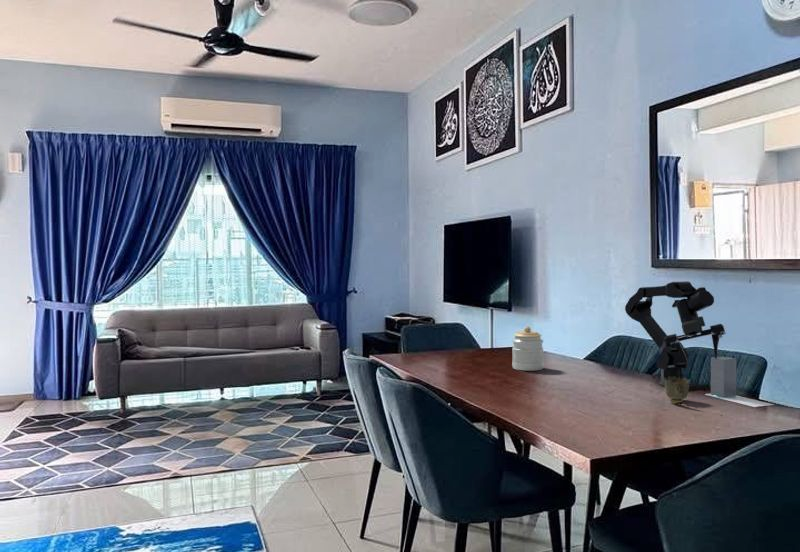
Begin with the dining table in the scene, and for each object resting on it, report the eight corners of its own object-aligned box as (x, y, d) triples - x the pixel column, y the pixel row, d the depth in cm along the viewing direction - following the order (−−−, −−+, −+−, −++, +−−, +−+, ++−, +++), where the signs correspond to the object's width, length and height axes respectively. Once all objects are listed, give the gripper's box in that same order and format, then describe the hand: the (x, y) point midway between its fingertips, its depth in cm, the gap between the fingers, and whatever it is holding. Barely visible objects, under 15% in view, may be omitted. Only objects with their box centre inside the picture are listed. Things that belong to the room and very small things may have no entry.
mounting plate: (704, 397, 202) (704, 394, 202) (723, 395, 205) (723, 392, 205) (754, 410, 184) (754, 406, 184) (774, 407, 187) (774, 404, 187)
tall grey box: (710, 394, 201) (710, 357, 201) (723, 392, 203) (723, 356, 203) (723, 397, 196) (723, 359, 196) (736, 396, 198) (736, 358, 198)
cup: (678, 407, 188) (678, 381, 188) (658, 402, 195) (658, 377, 195) (695, 404, 192) (695, 379, 192) (674, 400, 198) (674, 375, 198)
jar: (546, 371, 253) (546, 328, 253) (515, 371, 253) (514, 328, 253) (539, 365, 266) (539, 325, 266) (509, 366, 266) (509, 325, 266)
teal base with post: (706, 397, 202) (706, 383, 202) (723, 395, 204) (723, 382, 204) (724, 402, 195) (724, 387, 195) (741, 400, 197) (741, 386, 197)
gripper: (657, 317, 210) (669, 362, 204) (716, 303, 202) (730, 350, 196) (661, 324, 219) (673, 367, 214) (718, 311, 211) (732, 355, 206)
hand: (701, 359), depth 207 cm, fingers open, 9 cm apart
